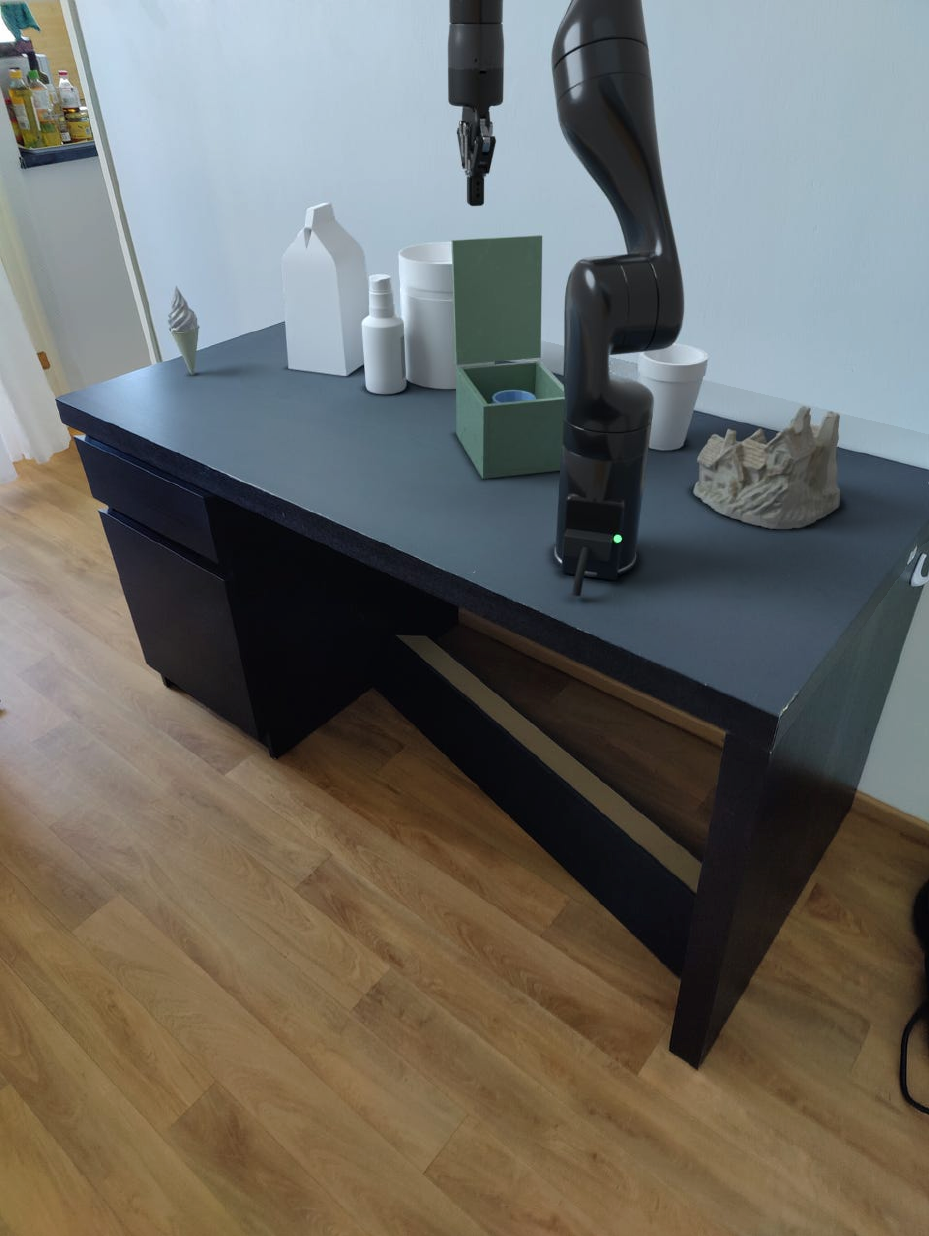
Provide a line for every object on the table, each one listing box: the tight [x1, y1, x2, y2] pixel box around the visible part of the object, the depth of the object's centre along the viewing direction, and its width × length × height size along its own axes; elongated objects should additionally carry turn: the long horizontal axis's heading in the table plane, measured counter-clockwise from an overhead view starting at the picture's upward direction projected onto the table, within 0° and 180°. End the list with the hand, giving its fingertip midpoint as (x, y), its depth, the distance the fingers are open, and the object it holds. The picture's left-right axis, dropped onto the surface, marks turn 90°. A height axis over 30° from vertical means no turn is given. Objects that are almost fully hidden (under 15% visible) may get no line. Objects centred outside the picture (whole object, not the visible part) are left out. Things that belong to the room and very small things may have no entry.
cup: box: [492, 390, 536, 403], centre depth 125 cm, size 6×6×8 cm
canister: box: [397, 241, 496, 390], centre depth 150 cm, size 16×16×20 cm
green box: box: [455, 360, 565, 480], centre depth 125 cm, size 16×13×10 cm
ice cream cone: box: [167, 285, 200, 376], centre depth 151 cm, size 5×5×15 cm
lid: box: [450, 234, 543, 365], centre depth 126 cm, size 16×13×5 cm
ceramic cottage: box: [692, 405, 841, 530], centre depth 111 cm, size 16×16×15 cm
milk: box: [280, 202, 370, 377], centre depth 153 cm, size 12×12×26 cm
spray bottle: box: [362, 273, 407, 395], centre depth 144 cm, size 7×7×18 cm
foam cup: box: [637, 343, 709, 451], centre depth 127 cm, size 10×9×13 cm
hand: (475, 204), depth 128 cm, fingers closed
